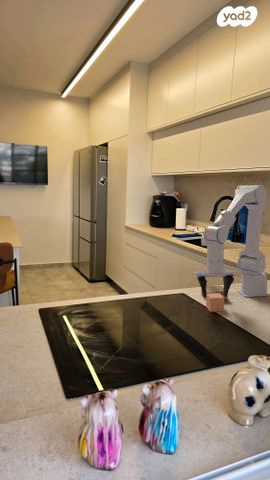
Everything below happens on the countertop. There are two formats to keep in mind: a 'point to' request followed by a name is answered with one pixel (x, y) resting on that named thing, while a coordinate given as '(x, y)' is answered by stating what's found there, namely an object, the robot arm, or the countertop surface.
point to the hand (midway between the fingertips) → (214, 296)
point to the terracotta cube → (215, 302)
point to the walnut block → (215, 291)
